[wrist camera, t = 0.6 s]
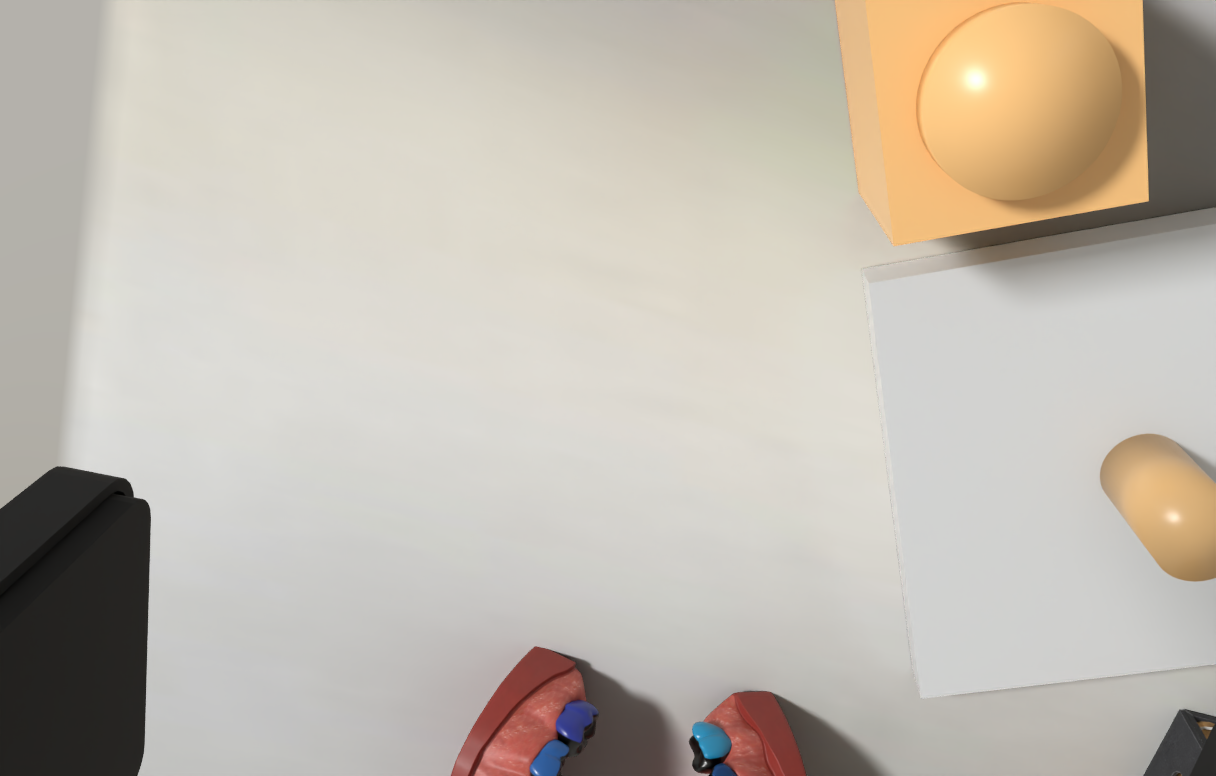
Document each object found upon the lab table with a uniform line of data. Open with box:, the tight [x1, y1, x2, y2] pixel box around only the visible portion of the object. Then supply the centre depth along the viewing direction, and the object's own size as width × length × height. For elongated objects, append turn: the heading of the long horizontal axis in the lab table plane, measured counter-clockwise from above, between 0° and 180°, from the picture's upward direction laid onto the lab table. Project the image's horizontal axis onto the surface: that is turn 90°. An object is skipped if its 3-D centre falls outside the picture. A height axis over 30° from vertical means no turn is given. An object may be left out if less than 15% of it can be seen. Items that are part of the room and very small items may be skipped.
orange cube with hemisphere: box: [835, 0, 1149, 246], centre depth 26 cm, size 6×6×7 cm
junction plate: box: [861, 207, 1216, 699], centre depth 30 cm, size 14×14×6 cm
